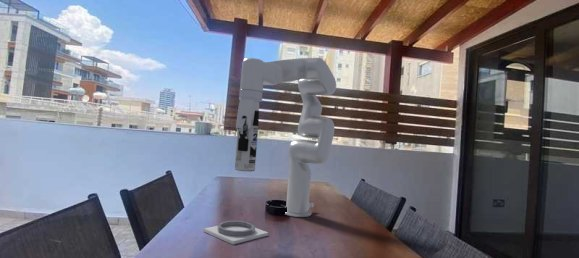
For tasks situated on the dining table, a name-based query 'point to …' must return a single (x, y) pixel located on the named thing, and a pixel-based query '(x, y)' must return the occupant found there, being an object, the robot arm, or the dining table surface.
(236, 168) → the spray can
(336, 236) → the dining table surface
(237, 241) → the collar plate
